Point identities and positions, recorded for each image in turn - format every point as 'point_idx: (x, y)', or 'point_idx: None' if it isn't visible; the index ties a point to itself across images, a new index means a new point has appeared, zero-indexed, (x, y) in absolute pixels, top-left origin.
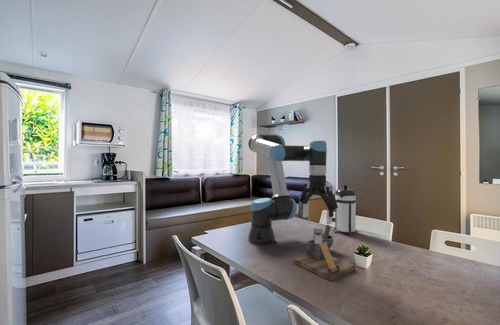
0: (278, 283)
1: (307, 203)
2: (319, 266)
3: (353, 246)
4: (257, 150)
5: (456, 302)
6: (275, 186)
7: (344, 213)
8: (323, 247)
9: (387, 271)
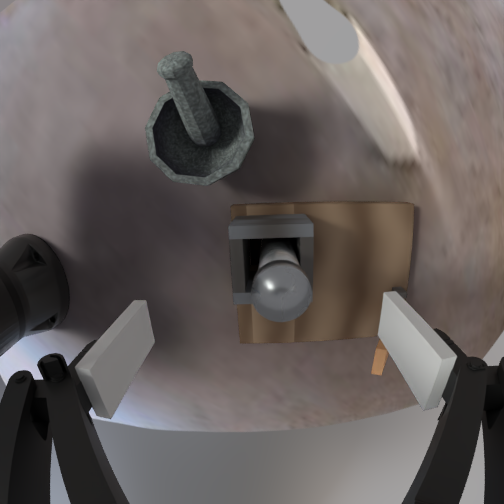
0: (310, 423)
1: (80, 367)
2: (343, 318)
3: (258, 3)
4: None
5: None
6: None
7: None
8: (385, 362)
9: (457, 127)
